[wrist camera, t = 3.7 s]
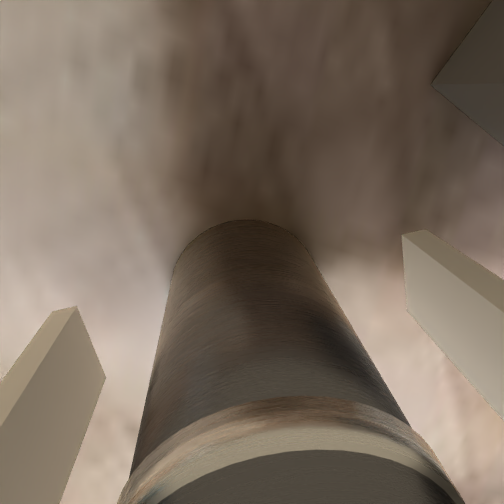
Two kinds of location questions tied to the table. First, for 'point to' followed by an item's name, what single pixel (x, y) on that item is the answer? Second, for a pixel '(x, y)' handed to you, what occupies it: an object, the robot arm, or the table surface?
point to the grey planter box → (479, 73)
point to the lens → (270, 390)
